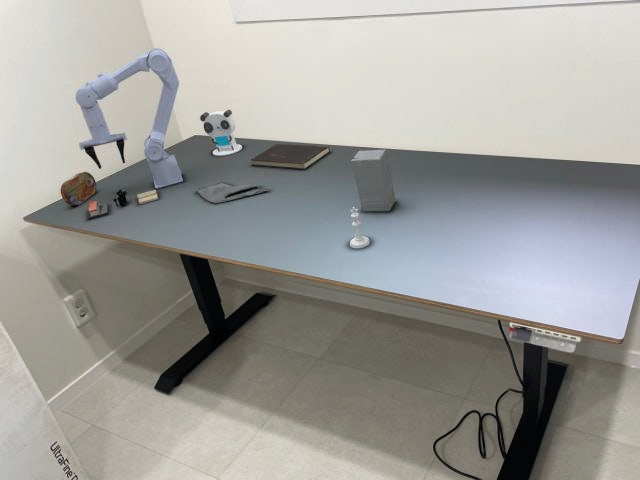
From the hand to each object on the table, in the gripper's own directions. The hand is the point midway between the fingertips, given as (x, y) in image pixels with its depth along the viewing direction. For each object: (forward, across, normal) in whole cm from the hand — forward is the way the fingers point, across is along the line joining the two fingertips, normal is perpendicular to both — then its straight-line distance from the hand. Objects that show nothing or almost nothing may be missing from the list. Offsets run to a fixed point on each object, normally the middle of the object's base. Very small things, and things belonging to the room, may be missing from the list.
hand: (112, 165), depth 190 cm
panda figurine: (+10, +40, +17) cm, 44 cm away
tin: (+11, -13, +5) cm, 18 cm away
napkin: (+10, +8, -12) cm, 18 cm away
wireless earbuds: (+11, 0, -11) cm, 16 cm away
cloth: (+10, +32, -28) cm, 43 cm away
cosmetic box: (+9, +67, -69) cm, 97 cm away
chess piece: (+9, +55, -85) cm, 102 cm away
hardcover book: (+9, +58, -12) cm, 60 cm away
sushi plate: (+11, -8, -12) cm, 18 cm away
